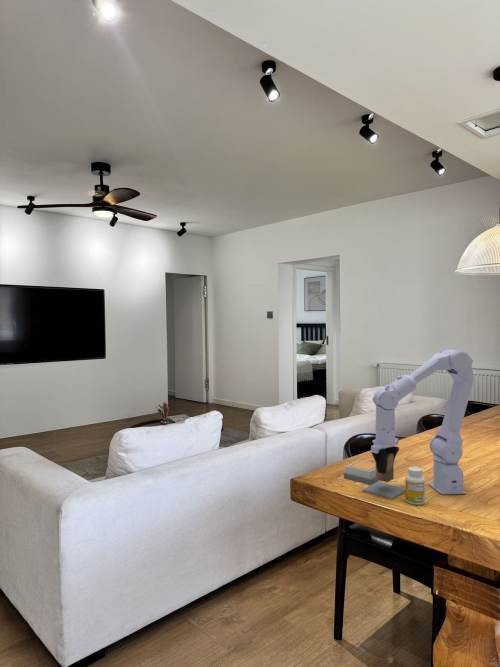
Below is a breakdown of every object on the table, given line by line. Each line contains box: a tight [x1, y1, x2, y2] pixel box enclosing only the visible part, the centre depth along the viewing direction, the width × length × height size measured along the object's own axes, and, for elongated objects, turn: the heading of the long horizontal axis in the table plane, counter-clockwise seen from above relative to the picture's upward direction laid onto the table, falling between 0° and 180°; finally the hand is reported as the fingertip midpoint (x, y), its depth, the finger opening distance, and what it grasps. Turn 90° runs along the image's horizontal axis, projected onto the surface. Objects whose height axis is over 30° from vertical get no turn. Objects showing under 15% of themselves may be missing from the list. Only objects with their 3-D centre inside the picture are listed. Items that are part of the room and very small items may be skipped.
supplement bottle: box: [405, 466, 426, 506], centre depth 137 cm, size 5×5×10 cm
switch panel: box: [343, 459, 379, 486], centre depth 159 cm, size 10×10×4 cm
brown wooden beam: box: [376, 453, 395, 483], centre depth 146 cm, size 4×4×8 cm
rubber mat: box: [362, 481, 406, 500], centre depth 146 cm, size 10×10×1 cm
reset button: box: [350, 460, 376, 471], centre depth 158 cm, size 7×7×2 cm
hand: (385, 471), depth 146 cm, fingers closed on brown wooden beam, 4 cm apart
